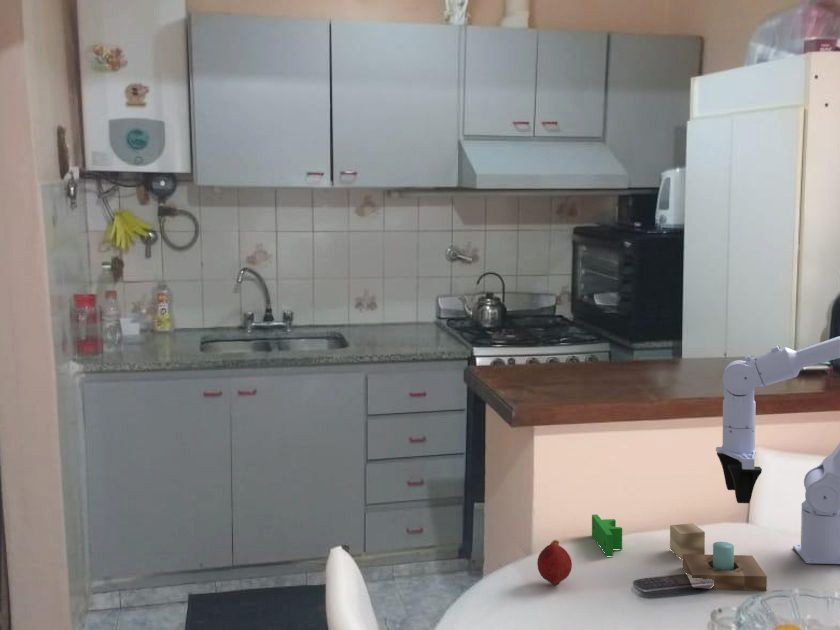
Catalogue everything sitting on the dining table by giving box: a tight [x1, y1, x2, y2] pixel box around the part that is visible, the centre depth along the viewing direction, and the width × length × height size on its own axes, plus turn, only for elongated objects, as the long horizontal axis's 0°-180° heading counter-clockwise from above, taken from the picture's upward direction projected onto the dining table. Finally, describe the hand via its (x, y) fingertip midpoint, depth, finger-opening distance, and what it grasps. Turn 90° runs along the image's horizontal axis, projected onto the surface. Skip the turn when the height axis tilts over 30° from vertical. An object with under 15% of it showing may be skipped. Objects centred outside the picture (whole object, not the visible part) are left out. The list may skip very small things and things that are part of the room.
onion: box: [536, 539, 573, 586], centre depth 147 cm, size 6×6×8 cm
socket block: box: [682, 554, 768, 592], centre depth 148 cm, size 12×9×2 cm
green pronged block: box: [591, 513, 623, 557], centre depth 164 cm, size 11×4×5 cm, turn 3°
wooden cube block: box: [669, 522, 706, 559], centre depth 159 cm, size 5×5×5 cm
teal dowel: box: [712, 541, 735, 571], centre depth 148 cm, size 3×3×6 cm
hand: (738, 496), depth 161 cm, fingers open, 7 cm apart
